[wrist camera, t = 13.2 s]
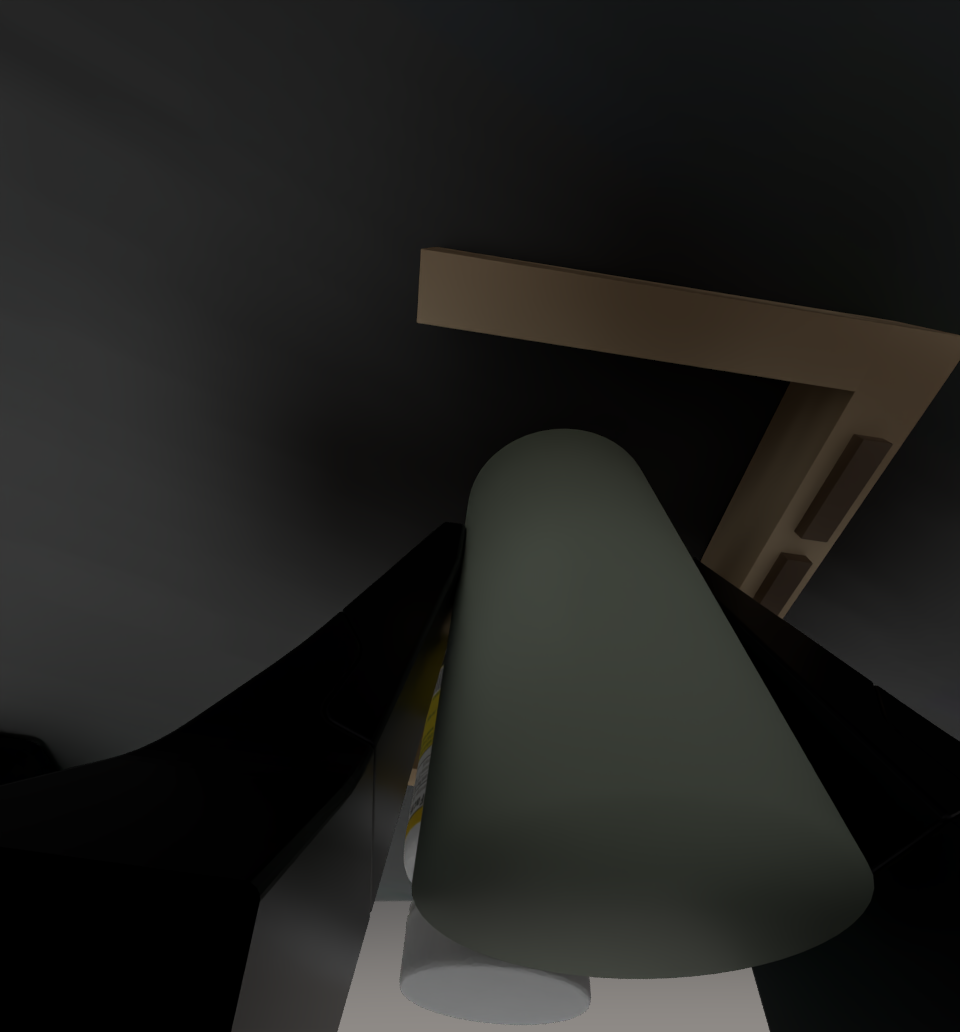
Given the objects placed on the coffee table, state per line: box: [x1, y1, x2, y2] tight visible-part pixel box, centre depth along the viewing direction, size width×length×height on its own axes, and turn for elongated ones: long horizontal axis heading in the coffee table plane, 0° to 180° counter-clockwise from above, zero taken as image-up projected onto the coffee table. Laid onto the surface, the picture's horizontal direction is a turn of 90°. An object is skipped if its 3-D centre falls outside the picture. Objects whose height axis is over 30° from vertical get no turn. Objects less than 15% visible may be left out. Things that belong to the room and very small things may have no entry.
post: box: [412, 429, 874, 979], centre depth 7 cm, size 4×4×7 cm
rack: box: [408, 247, 960, 786], centre depth 13 cm, size 18×10×2 cm, turn 172°
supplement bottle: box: [400, 648, 591, 1025], centre depth 13 cm, size 5×5×8 cm
